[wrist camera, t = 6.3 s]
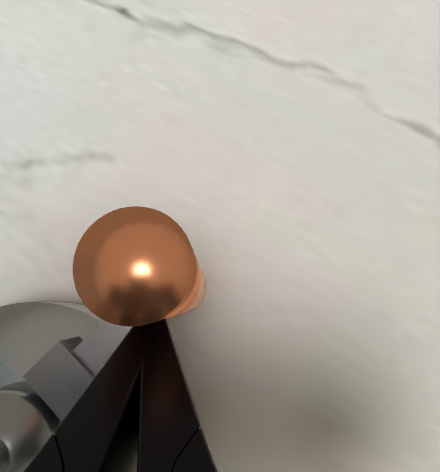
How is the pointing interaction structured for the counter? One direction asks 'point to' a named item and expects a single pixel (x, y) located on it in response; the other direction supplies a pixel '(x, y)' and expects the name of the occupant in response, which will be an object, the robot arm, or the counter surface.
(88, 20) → the counter surface
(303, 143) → the counter surface
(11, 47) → the counter surface
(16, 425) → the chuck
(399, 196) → the counter surface
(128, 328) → the copper rod with bracket
